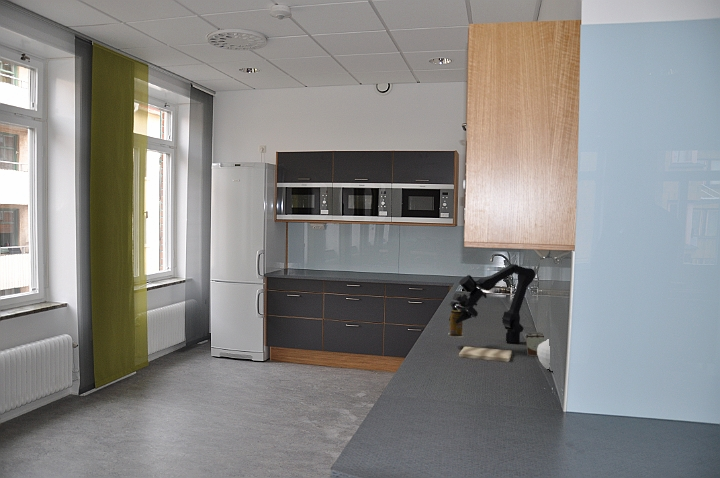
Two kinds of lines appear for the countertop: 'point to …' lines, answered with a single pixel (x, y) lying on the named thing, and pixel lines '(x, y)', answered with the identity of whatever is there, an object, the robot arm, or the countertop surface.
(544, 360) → the vase
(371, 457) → the countertop surface
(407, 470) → the countertop surface
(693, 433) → the countertop surface
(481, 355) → the birch board
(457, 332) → the condiment
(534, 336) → the food container
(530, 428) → the countertop surface
